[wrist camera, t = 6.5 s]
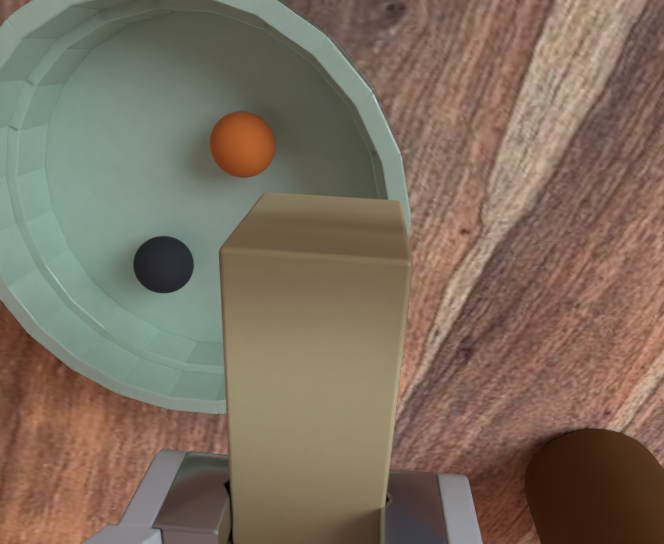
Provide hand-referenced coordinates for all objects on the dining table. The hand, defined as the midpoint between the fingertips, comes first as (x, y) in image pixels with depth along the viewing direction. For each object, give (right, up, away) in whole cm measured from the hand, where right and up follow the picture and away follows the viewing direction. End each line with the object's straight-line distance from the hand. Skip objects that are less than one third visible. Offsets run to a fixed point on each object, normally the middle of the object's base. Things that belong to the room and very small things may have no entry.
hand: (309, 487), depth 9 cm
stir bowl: (-5, +8, +16) cm, 19 cm away
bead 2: (-3, +10, +14) cm, 18 cm away
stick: (0, +1, +2) cm, 2 cm away
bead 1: (-8, +5, +17) cm, 19 cm away
